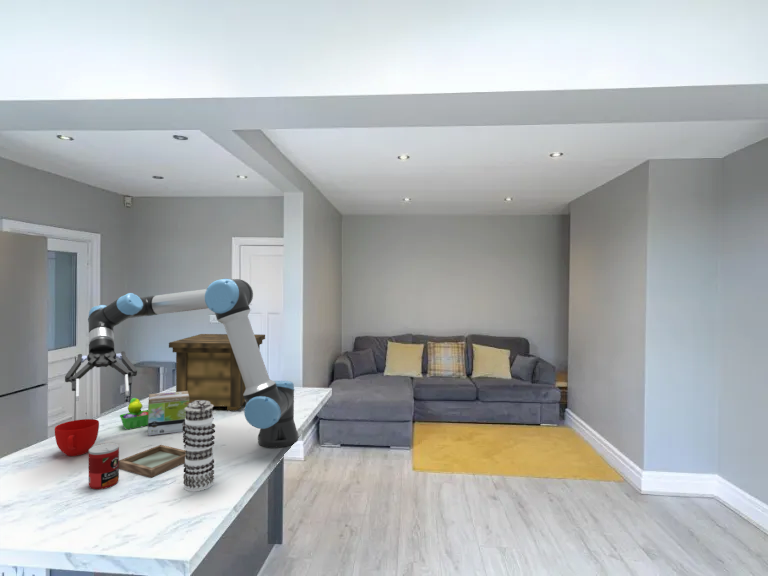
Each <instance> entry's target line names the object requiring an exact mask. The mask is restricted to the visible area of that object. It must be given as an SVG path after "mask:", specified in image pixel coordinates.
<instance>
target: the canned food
mask: <svg viewBox="0 0 768 576" xmlns="http://www.w3.org/2000/svg"><path fill="white" fill-rule="evenodd" d="M87 455H88V486H89V488H90V489H92V490H104V489H108V488H111V487H113V486H115V485H116V484H117V483H119V478H120V469H119V460H120V447H119V444H117V443H113V442H111V443H108V442H107V443H101V444H98V445H93V446H92V447H91V448H90V449H89V451H88V454H87Z"/></svg>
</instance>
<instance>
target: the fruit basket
mask: <svg viewBox="0 0 768 576" xmlns="http://www.w3.org/2000/svg"><path fill="white" fill-rule="evenodd" d="M142 408H143V404H142V403H141V401H140V399H138V398H136V397H133V398H131V399H130V402H129V404H128V406H127V410H128V412H126V413H124V414H123V413H121V414H120V415H119V418H120V419H121V422H122V426H123V428H124V427H125V428H126V429H128V430H131V429H130V428H132V429H136V428H135V427H138V428H142V427H141V426H143V427H147V426H146V425H148V409H145V410H142ZM125 428H124V429H125ZM126 429H125V430H126Z"/></svg>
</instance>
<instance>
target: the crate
mask: <svg viewBox="0 0 768 576" xmlns="http://www.w3.org/2000/svg"><path fill="white" fill-rule="evenodd" d="M254 336H255V338H256V341H257V344H258V347H259V350H260V345H262V344H263V341H264V340H265V339H266V334H255V333H254ZM169 348H170V349H172V353H175V354H176V355H175V358H176V359H175V370H176V371H175V379H176V380H175V392H182V391H188V394H189V403H191V402H193V401H197V400H207V401H209V402H210V403H211V404H212V405H214V407H226V411H233V410H234V411H235V410H236V412H237V411H238V410H239V409H241V407H242V406H244V403H246V401H245V398H244V396H243V394H244V392H245V390H246V387H245V384H244V382H243V379H242V376H241V373H240V370H239V367H238V364H237V361H236V358H235V355H234V353H233V350H232V347H231V344H230V341H229V338H228V335H227V333H200V334H196V335H193V336H188V337H185V338H181V339H177V340H173V341H169V342H168V349H169Z"/></svg>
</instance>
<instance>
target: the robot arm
mask: <svg viewBox="0 0 768 576" xmlns="http://www.w3.org/2000/svg"><path fill="white" fill-rule="evenodd" d="M253 299H254V291H253V287H252V286H251V285H250V284H249V283H248V282H246V281H245V280H243V279H239V278H236V279H235V278H234V279H233V278H222V279H217V280H214V281H212V282H211V283H210V284H209V285H208V287H206V288H204V289H196V290H188V291H182V292H181V291H179V292H174V293H173V292H172V293H164V294H157V295H150V296H149V295H148V296H138V295H137V294H135V293H133V292H128V293H126V294H125V295H122V296H120V297H118V298H117V299H116V300H114V301H113V302H111V303H110V304H108V305H105V304H99V305H95V306H92V307H91V308H90V310H89V312H88V319H87V324H88V355H83V354H82V353H79V354H77V358H76V360H75V362H74V363H73V364H72V366H71V367H70V369H69V370H68V371H67V373H66V374H65V375H64V382H65V383H71V391H72V392H75V401H76V402H79V400H80V379H82V378H83V377H84V376H85V375H86V374H87V373H88V372H89V371H92V370H93V368H95V367H96V368H107V367H108V366H110V367H111V368H113V369H114V370H116V371H117V372H119V373H121V374H122V375H123V376H124V390H125V393H124V394H125V396H129V394H130V393H129V392H130V390H129V389H130V387H129V386H132V383H133V377H136V376H137V375H138V369H137V368H136V367H135V365H133V363H132V362H131V360H130V359H129V358H128V357H127V355H126V352H125V351H124V350H123V351H121V352H120V353H116V352H115V334H114V333H115V332H114V328H115V327H116V326H117V325H119V324H121V323H122V322H124V321H126V320H128V319H133V318H139V317H142V318H143V317H152V316H157V315H163V314H166V315H167V314H173V313H180V312H181V313H182V312H189V311H190V312H191V311H197V310H206V309H209V310H210V311H211V312H213V313H214V315H215V317H216V320H217V322H218V323H221V324H223V326H224V329H225V332H226V334H227V335H228V338H229V341H230V344H231V347H232V350H233V353H234V355H235V358H236V361H237V364H238V367H239V370H240V373H241V376H242V379H243V382H244V384H245V387H246V390H245V392H244V394H243V396H244V398H245V407H244V410H243V413H244V418H245V420H246V421H247V423H248V424H249V425H250V426H252V427H253V428H257V429H259V433H258V435H257V444H258V445H260V446H262V447H265V448H271V449H272V448H275V449H276V448H278V449H279V448H284V447H288V446H292V445H294V444H296V443H297V442H298V441H299V433H298V430H297V426H296V423H295V417H294V416H295V415H294V414H295V413H294V412H295V410H294V409H295V385H294V384H295V383H293V381H290V380H271V379H270V377H269V374H268V373H269V372H268V371H267V368H266V365H265V362H264V358H263V356H262V354H261V351H260V350H259V347H258V344H257V341H256V338H255V336H254V334H255V333H254V330H253V328H252V325H251V321H250V319H249V314H250V312H251V308H250V305H251V303H252V302H253ZM117 359H119V360H120V361H121V362H122V363H123V364H121V363H120V362H119V361H117ZM85 361H87V363H86V364H85V365H84V366H83V367H81V365H82V364H83V363H84V362H85ZM80 367H81V369H79V368H80Z"/></svg>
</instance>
